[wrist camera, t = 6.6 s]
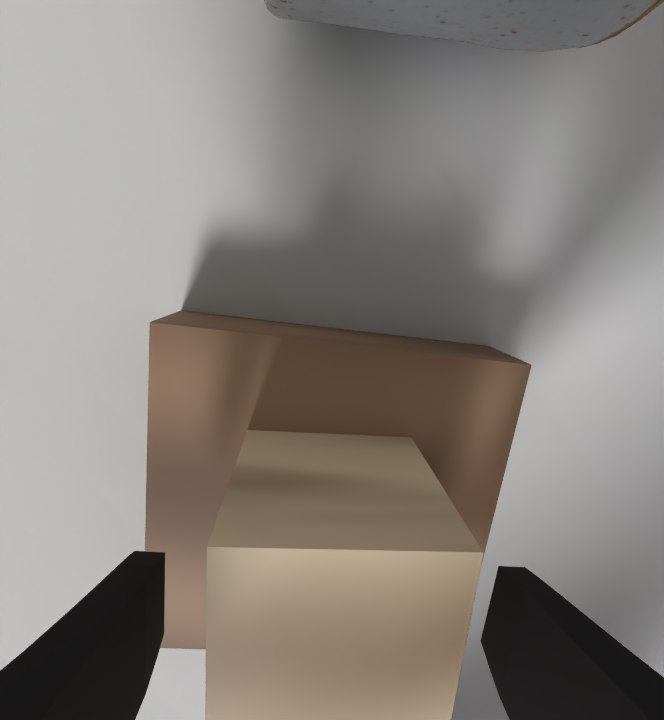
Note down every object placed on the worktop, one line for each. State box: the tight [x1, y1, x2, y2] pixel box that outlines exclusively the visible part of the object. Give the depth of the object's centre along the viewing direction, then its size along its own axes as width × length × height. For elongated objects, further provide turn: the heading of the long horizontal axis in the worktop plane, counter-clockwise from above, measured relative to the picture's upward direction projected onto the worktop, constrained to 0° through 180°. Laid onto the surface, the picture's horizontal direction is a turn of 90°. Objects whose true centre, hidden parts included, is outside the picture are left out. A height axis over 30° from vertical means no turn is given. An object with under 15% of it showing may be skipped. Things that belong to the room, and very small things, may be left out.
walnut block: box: [145, 311, 531, 649], centre depth 13 cm, size 10×10×3 cm
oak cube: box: [205, 430, 484, 720], centre depth 9 cm, size 4×4×4 cm
